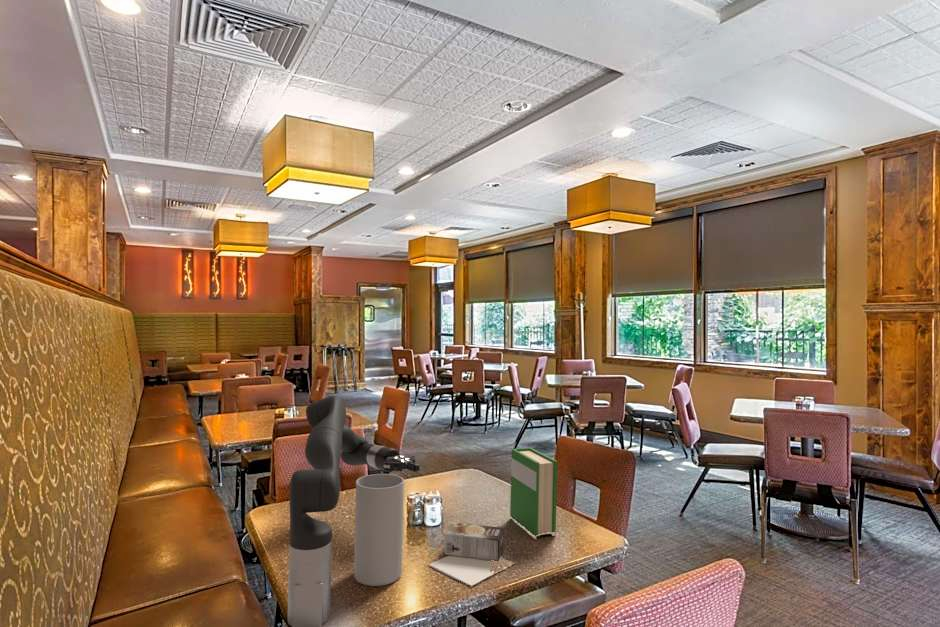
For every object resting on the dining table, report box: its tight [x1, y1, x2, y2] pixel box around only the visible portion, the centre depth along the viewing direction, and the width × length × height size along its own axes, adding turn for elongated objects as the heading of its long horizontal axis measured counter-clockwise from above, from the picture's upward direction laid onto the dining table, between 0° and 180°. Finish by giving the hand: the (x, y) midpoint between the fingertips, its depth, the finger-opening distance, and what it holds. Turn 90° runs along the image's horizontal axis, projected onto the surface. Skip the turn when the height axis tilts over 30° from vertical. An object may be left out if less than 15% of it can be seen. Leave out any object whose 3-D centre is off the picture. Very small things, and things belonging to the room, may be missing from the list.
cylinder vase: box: [353, 473, 405, 587], centre depth 138 cm, size 12×12×25 cm
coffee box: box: [443, 521, 505, 561], centre depth 152 cm, size 9×6×16 cm
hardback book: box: [509, 447, 558, 536], centre depth 172 cm, size 18×7×24 cm, turn 22°
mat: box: [428, 555, 500, 586], centre depth 145 cm, size 16×18×1 cm
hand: (417, 468), depth 161 cm, fingers closed
